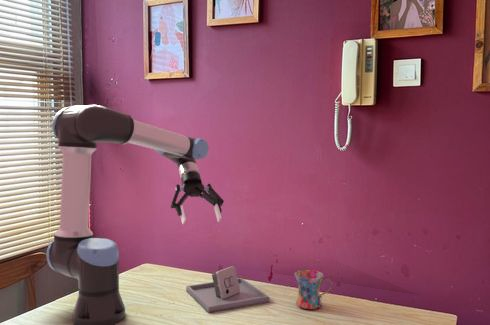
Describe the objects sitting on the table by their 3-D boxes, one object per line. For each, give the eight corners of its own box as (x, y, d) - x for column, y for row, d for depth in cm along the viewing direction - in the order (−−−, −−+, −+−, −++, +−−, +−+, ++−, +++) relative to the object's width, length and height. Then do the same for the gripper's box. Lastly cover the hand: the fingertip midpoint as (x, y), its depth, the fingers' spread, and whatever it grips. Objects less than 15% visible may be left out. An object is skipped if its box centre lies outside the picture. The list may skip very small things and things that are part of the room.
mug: (293, 310, 143) (293, 277, 143) (295, 300, 153) (295, 269, 152) (331, 313, 141) (332, 280, 140) (331, 302, 150) (332, 271, 150)
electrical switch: (223, 300, 150) (221, 272, 150) (211, 298, 153) (209, 271, 153) (240, 292, 157) (238, 266, 157) (229, 291, 161) (227, 265, 161)
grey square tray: (208, 313, 141) (208, 307, 141) (186, 291, 160) (186, 285, 160) (269, 302, 150) (269, 296, 150) (241, 282, 170) (241, 277, 169)
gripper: (217, 181, 184) (231, 225, 171) (156, 183, 173) (166, 229, 161) (222, 169, 179) (237, 213, 166) (160, 170, 168) (170, 217, 155)
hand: (202, 221), depth 163 cm, fingers open, 13 cm apart
